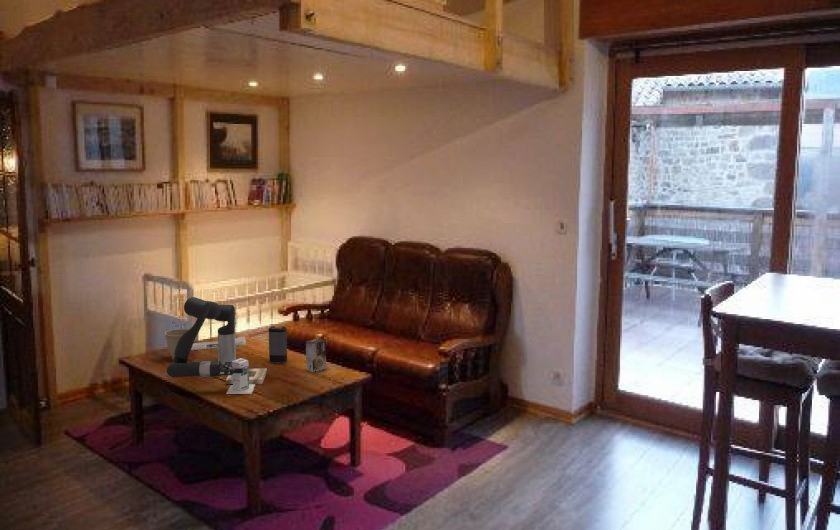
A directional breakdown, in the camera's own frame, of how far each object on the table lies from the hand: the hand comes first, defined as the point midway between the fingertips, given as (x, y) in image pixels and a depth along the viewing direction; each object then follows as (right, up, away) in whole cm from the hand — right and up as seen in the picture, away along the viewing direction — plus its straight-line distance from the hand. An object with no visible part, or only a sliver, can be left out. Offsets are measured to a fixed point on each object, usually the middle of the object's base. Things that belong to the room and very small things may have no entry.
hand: (244, 368), depth 327 cm
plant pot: (-50, -3, +52) cm, 72 cm away
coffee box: (+30, -7, +36) cm, 47 cm away
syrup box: (-2, -11, +1) cm, 11 cm away
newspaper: (-38, +1, +80) cm, 88 cm away
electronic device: (+7, -4, +48) cm, 49 cm away
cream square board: (-4, -9, +19) cm, 21 cm away
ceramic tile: (-2, -11, +2) cm, 12 cm away
